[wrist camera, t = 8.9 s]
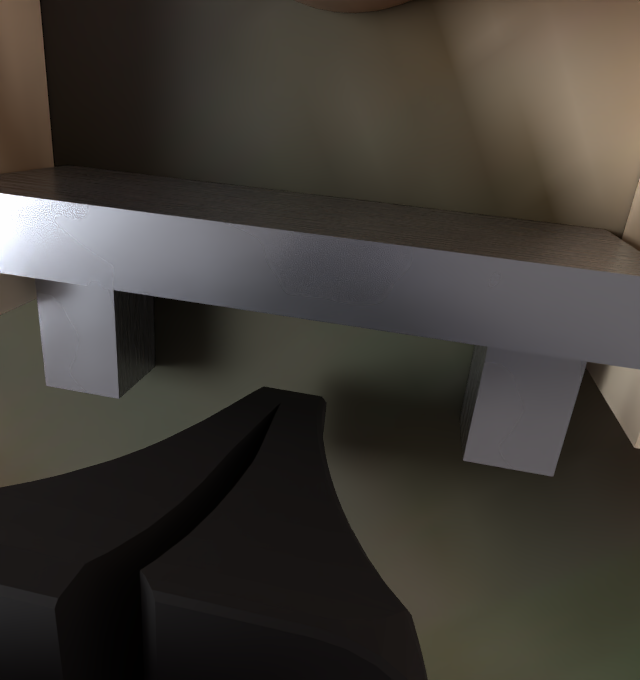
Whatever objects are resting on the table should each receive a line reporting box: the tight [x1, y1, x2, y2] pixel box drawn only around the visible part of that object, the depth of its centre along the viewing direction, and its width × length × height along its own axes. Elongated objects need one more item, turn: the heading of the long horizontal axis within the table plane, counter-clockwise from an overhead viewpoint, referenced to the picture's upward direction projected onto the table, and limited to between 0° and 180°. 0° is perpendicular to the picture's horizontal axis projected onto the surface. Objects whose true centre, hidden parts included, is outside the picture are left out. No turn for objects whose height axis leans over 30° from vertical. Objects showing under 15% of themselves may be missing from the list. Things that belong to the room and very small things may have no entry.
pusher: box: [0, 165, 640, 477], centre depth 10 cm, size 4×10×4 cm, turn 85°
